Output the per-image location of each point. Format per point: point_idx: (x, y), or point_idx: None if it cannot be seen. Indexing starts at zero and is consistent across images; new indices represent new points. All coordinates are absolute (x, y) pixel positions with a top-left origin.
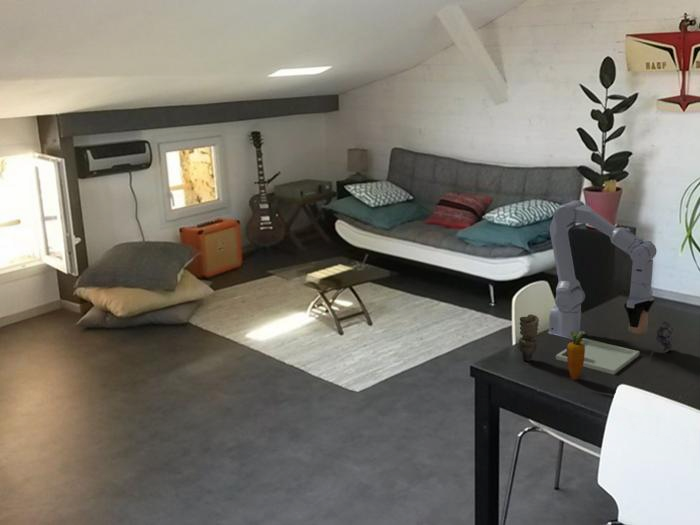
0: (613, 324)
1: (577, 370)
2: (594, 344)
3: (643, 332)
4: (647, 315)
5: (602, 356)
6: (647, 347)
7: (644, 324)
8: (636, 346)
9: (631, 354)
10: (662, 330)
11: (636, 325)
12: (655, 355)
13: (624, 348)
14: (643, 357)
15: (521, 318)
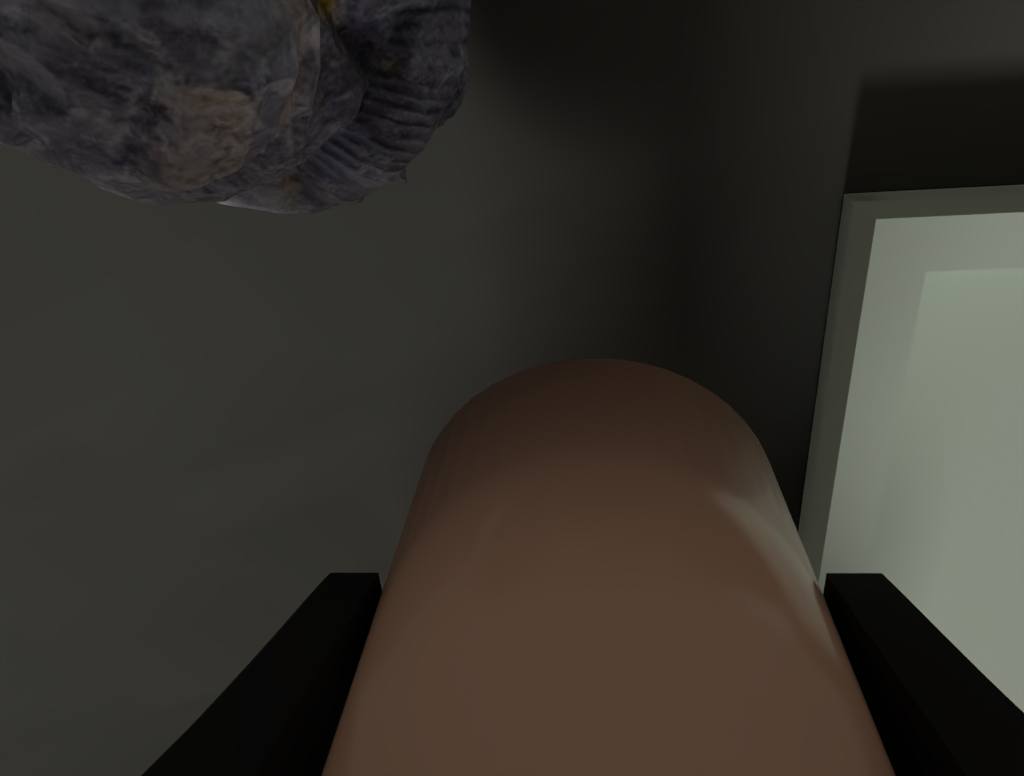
0: (95, 749)
1: None
2: None
3: (688, 389)
4: (606, 731)
5: None
6: (402, 261)
7: (705, 511)
8: (474, 380)
9: None
10: (381, 18)
11: (926, 628)
12: (625, 23)
13: (866, 434)
14: (822, 135)
15: None
